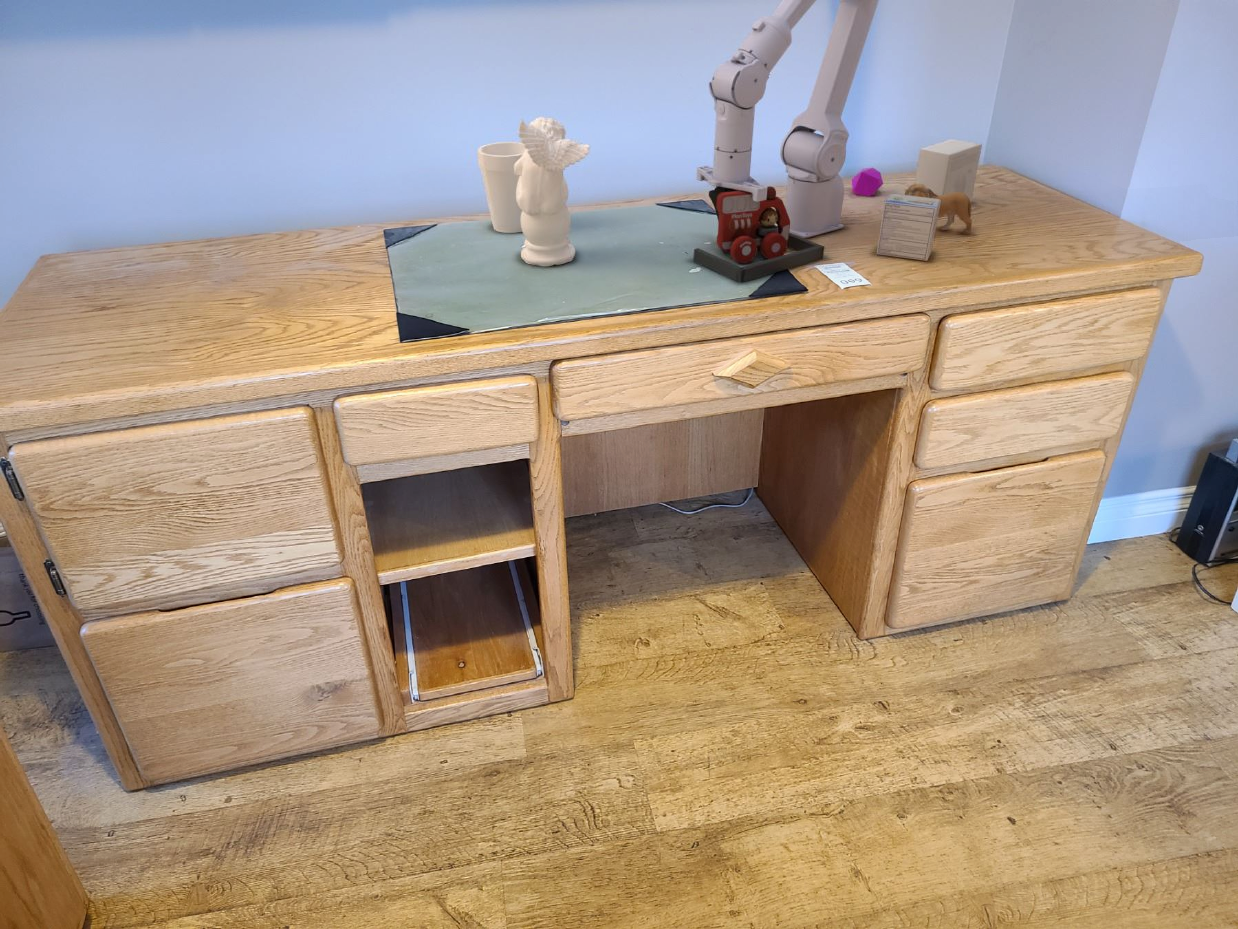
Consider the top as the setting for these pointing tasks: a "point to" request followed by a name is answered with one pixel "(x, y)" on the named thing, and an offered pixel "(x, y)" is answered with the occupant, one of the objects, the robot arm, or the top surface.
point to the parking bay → (803, 255)
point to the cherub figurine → (545, 191)
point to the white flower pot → (501, 183)
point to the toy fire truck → (752, 225)
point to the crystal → (867, 182)
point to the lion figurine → (947, 205)
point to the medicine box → (908, 226)
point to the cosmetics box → (949, 167)
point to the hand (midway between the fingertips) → (727, 234)
